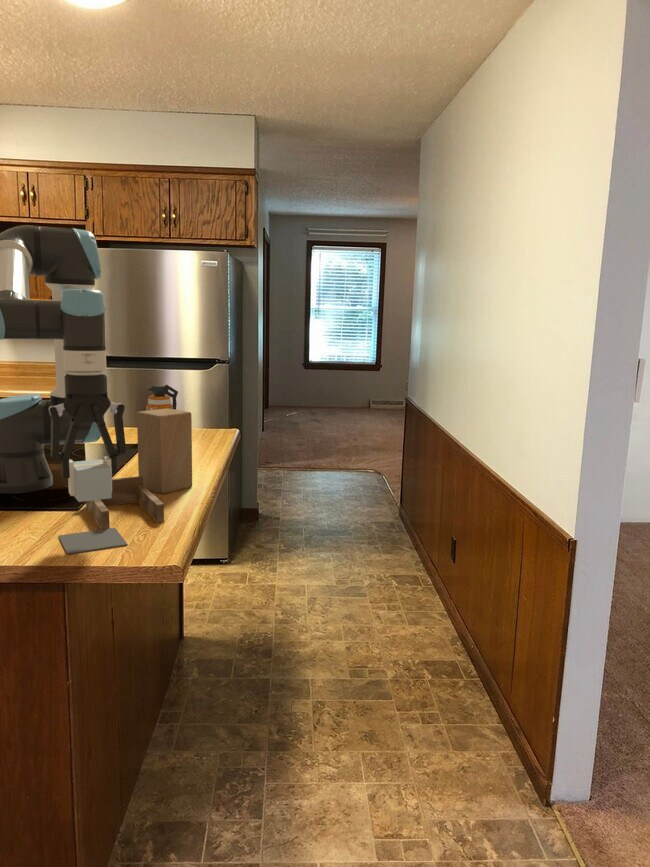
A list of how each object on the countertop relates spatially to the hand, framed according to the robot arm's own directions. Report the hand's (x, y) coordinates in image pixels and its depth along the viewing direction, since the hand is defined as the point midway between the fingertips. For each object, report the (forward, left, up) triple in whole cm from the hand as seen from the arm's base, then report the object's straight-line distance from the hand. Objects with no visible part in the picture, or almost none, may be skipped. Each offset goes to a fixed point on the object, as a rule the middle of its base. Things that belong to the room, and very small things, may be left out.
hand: (90, 491), depth 123 cm
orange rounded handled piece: (-99, +43, -10) cm, 108 cm away
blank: (0, 0, -1) cm, 1 cm away
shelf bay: (-15, +10, -10) cm, 21 cm away
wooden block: (-34, +25, -10) cm, 43 cm away
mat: (0, 0, -10) cm, 10 cm away
